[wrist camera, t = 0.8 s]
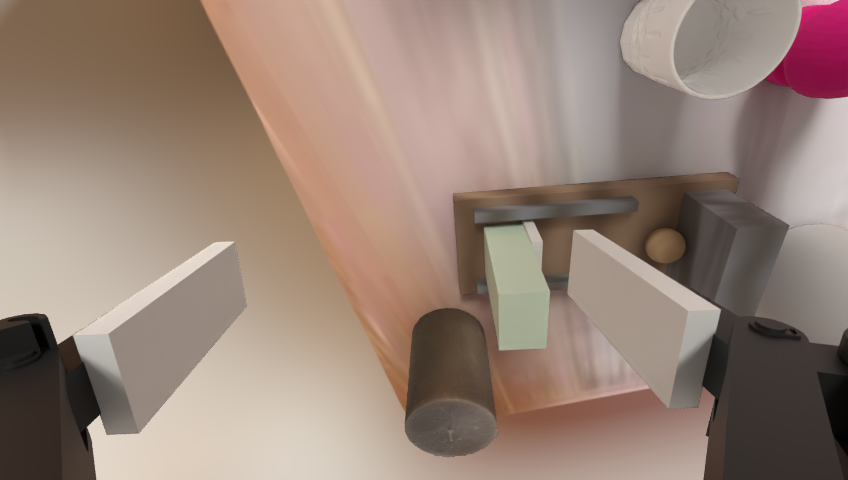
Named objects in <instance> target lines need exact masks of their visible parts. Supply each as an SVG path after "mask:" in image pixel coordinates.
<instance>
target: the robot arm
mask: <svg viewBox="0 0 848 480" xmlns="http://www.w3.org/2000/svg"><path fill="white" fill-rule="evenodd" d="M567 294H568V295H569V297H570V298H571V299H572V300H573V301H574V302H575V303H576V304H577V306H578V307H579V308H580V309H581V310H582V311H583V312H584V314H585V315H586V316H587V317H588V318H589V319H590V320H591V321H592V323H593V324H594V325H595V326H596V327H597V328H598V329H599V331H600V332H601V333H602V334H603V335H604V336H605V337H606V339H607V340H608V341H609V342H610V343H611V344H612V345H613V346H614V348H615V349H616V350H617V351H618V352H619V353H620V354H621V356H622V357H623V358H624V359H625V360H626V361H627V362H628V363H629V365H630V366H631V367H632V368H633V369H634V370H635V371H636V373H637V374H638V375H639V376H640V377H641V378H642V379H643V380H644V382H645V383H646V384H647V385H648V386H649V387H650V388H651V390H652V391H653V392H654V393H655V394H656V395H657V396H658V398H659V399H660V400H661V401H662V402H663V403H664V404H665V405H666V406H667V408H668V409H676V408H696V407H697V408H698V406H699V402H700V398H701V394H702V389H703V386H704V387H705V388H706V389H707V390H708V391H709V392H710V393H711V394H712V395H713V396H714V397H715V400H714V404H713V408H712V413H711V417H710V421H709V425H708V429H707V433H706V436H708V437H709V439H708V448H707V455H706V464H705V472H704V480H848V328H847V329H846V330H845V331H844V332H843V335H842V338H841V341H840V344H839V346H835V345H827V344H819V343H811V342H809V339H808V338H807V337H806V335H805V334H804V333H803V332H801V331H799V330H798V329H796V328H795V327H792V326H790V325H787V324H785V323H783V322H779V321H776V320H773V319H769V318H762V317H756V316H743V317H739V316H737V315H735V314H734V313H732V312H731V311H729V310H727V309H726V308H724V307H722V306H721V305H719V304H717V303H716V302H714V301H711V299H709V298H708V297H706V296H704V295H700V293H699V292H698V291H696V290H695V289H693V288H691V287H690V286H688V285H686V284H683V283H680V282H678V281H675V280H673V279H671V278H670V277H668V276H666V275H665V274H663V273H662V272H660V271H658V270H657V269H655V268H654V267H652V266H650V265H649V264H647V263H646V262H644V261H642V260H641V259H639V258H638V257H636V256H634V255H633V254H631V253H630V252H628V251H626V250H625V249H623V248H622V247H620V246H618V245H617V244H615V243H614V242H612V241H610V240H609V239H607V238H606V237H604V236H602V235H601V234H599V233H598V232H596V231H594V230H573V240H572V251H571V261H570V271H569V282H568V292H567ZM246 307H247V304H246V299H245V294H244V288H243V282H242V276H241V271H240V265H239V260H238V254H237V249H236V244H235V242H215V243H213V244H212V245H210V246H208V247H207V248H205V249H204V250H202V251H201V252H199V253H198V254H196V255H195V256H193V257H192V258H190V259H189V260H187V261H186V262H184V263H183V264H181V265H179V266H178V267H177V268H175V269H174V270H172V271H170V272H169V273H167V274H166V275H164V276H163V277H161V278H160V279H158V280H157V281H155V282H153V283H152V284H150V285H149V286H147V287H146V288H145V289H143V290H141V291H140V292H138V293H137V294H135V295H134V296H132V297H131V298H129V299H128V300H126V301H124V302H123V303H121V304H120V305H118V306H117V307H115V308H113V309H112V310H110V311H109V312H107V313H106V314H104V315H103V316H101V317H100V318H98V319H97V320H95V321H94V322H92V323H90V324H89V325H88V326H86V327H84V328H83V329H81V330H80V331H78V332H77V333H75V334H74V335H72V336H70V337H69V338H67V339H66V340H64V341H63V342H61V343H60V344H58V345H57V342H56V339H55V337H54V334H53V331H52V328H51V326H50V323H49V320H48V318H47V316H46V315H45V314H38V313H35V314H24V315H19V316H14V317H9V318H5V319H2V320H0V480H96V474H95V465H94V457H93V448H92V440H91V437H90V434H89V432H88V429H87V426H88V425H89V424H91V423H92V421H94V419H96V418H97V417H98V416H99V415H100V416H101V419H102V422H103V425H104V428H105V431H106V434H107V435H113V434H135V433H140V431H141V430H142V429H143V428H144V427H145V426H146V424H147V423H148V422H149V421H150V420H151V418H152V417H153V416H154V415H155V414H156V412H157V411H158V410H159V409H160V408H161V407H162V406H163V404H164V403H165V402H166V401H167V399H168V398H169V397H170V396H171V395H172V394H173V392H174V391H175V390H176V389H177V388H178V387H179V385H180V384H181V383H182V382H183V381H184V379H185V378H186V377H187V376H188V375H189V374H190V373H191V371H192V370H193V369H194V368H195V366H196V365H197V364H198V363H199V362H200V361H201V360H202V358H203V357H204V356H205V355H206V353H208V351H209V350H210V349H211V348H212V347H213V346H214V344H215V343H216V342H217V341H218V340H219V338H220V337H221V336H222V335H223V334H224V333H225V331H226V330H227V329H228V328H229V327H230V325H231V324H232V323H233V322H234V321H235V320H236V318H237V317H238V316H239V315H240V314H241V313H242V311H243V310H244V309H245V308H246Z"/></svg>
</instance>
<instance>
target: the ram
mask: <svg viewBox="0 0 848 480" xmlns="http://www.w3.org/2000/svg"><path fill="white" fill-rule="evenodd" d="M484 250H485V275H486V280H487V286H488V292H489V297H490V303H491V308H492V314H493V319H494V325H495V331H496V336H497V342H498V347H499V350H521V349H543V348H546V346H547V331H548V316H549V301H550V290H549V287H548V285H547V283H546V280H545V278H544V275H543V273H542V270H541V269H542V250H543V241H542V238H541V236H540V234H539V232H538V230H537V228H536V226H535V224H534V222H533V219H527V220H522V223H518V224H504V225H490V226H484Z"/></svg>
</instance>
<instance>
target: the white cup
mask: <svg viewBox="0 0 848 480" xmlns="http://www.w3.org/2000/svg"><path fill="white" fill-rule="evenodd" d="M801 15H802V1H801V0H642V1H641V2H640V3H638V4H637V5H636V6H635V8H634V9H633V11H632V12H631V14H630V15H629V17H628V18H627V20H626V21H625V23H624V27H623V31H622V36H621V40H620V45H621V50H622V55H623V60H624V61H625V62H626V63H627V64H628V65H629V66H630V67H631V68H632V70H633V71H635V72H637V73H640V74H643V75H645V76H647V77H648V78H650V79H652V80H654V81H657V82H659V83H661V84H663V85H666V86H669V87H671V88H674V89H677V90H679V91H682V92H685V93H687V94H690V95H693V96H695V97H698V98H702V99H709V100H716V99H724V98H729V97H732V96H735V95H738V94H740V93H743V92H745V91H747V90H749V89H750V88H752V87H754V86H755V85H757V84H758V83H759V82H761V81H762V80H763V79H765V78H766V77H767V76H768V75H769V74H770V73H771V72H772V71H773V70H774V69H775V68H776V67H777V66H778V65H779V64H780V62H781V61H782V60H783V58H784V57H785V56H786V54H787V53H788V51H789V49H790V48H791V46H792V44H793V42H794V40H795V37H796V35H797V32H798V29H799V26H800V21H801Z"/></svg>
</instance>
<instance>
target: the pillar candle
mask: <svg viewBox="0 0 848 480" xmlns="http://www.w3.org/2000/svg"><path fill="white" fill-rule="evenodd" d="M405 432H406V435H407V436H408V438H409V440H410V441H411V442H412V443H413V444H414V445H415V446H417V447H418V448H420V449H421V450H423V451H426V452H428V453H431V454H434V455H436V456H443V457H454V456H462V455H463V456H465V455H467V454H472V453H475V452H477V451H479V450H481V449H483V448H485V447H486V446H487V445H488V444H490V443H491V442H492V440H493V439H494V438H496V436H497V435H498V431H497V421H496V414H495V407H494V398H493V392H492V384H491V378H490V369H489V360H488V354H487V345H486V339H485V334H484V330H483V327H482V326H481V324H480V322H479V321H478V320H477V319H476V318H475V317H473V316H471V315H470V314H468V313H466V312H464V311H462V310H458V309H447V308H445V309H439V310H435V311H432V312H430V313H428V314H426V315H424V316H422V317H421V318H420V320H419V321H418V323H417V324H416V325H415V326H414V329H413V333H412V345H411V356H410V368H409V381H408V393H407V405H406V417H405Z"/></svg>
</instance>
